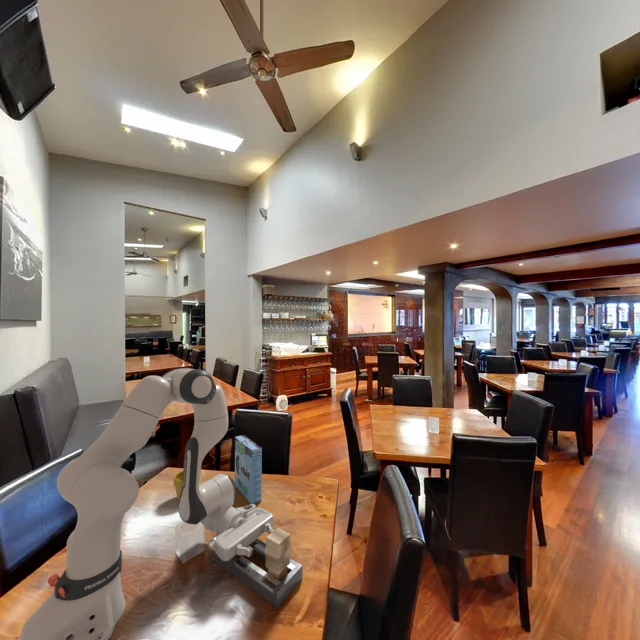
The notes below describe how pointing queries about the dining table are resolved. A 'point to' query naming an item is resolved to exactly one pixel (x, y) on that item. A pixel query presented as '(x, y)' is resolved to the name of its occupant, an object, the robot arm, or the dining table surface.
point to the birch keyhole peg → (278, 553)
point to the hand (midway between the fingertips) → (263, 543)
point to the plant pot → (178, 483)
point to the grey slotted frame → (263, 575)
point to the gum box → (248, 468)
